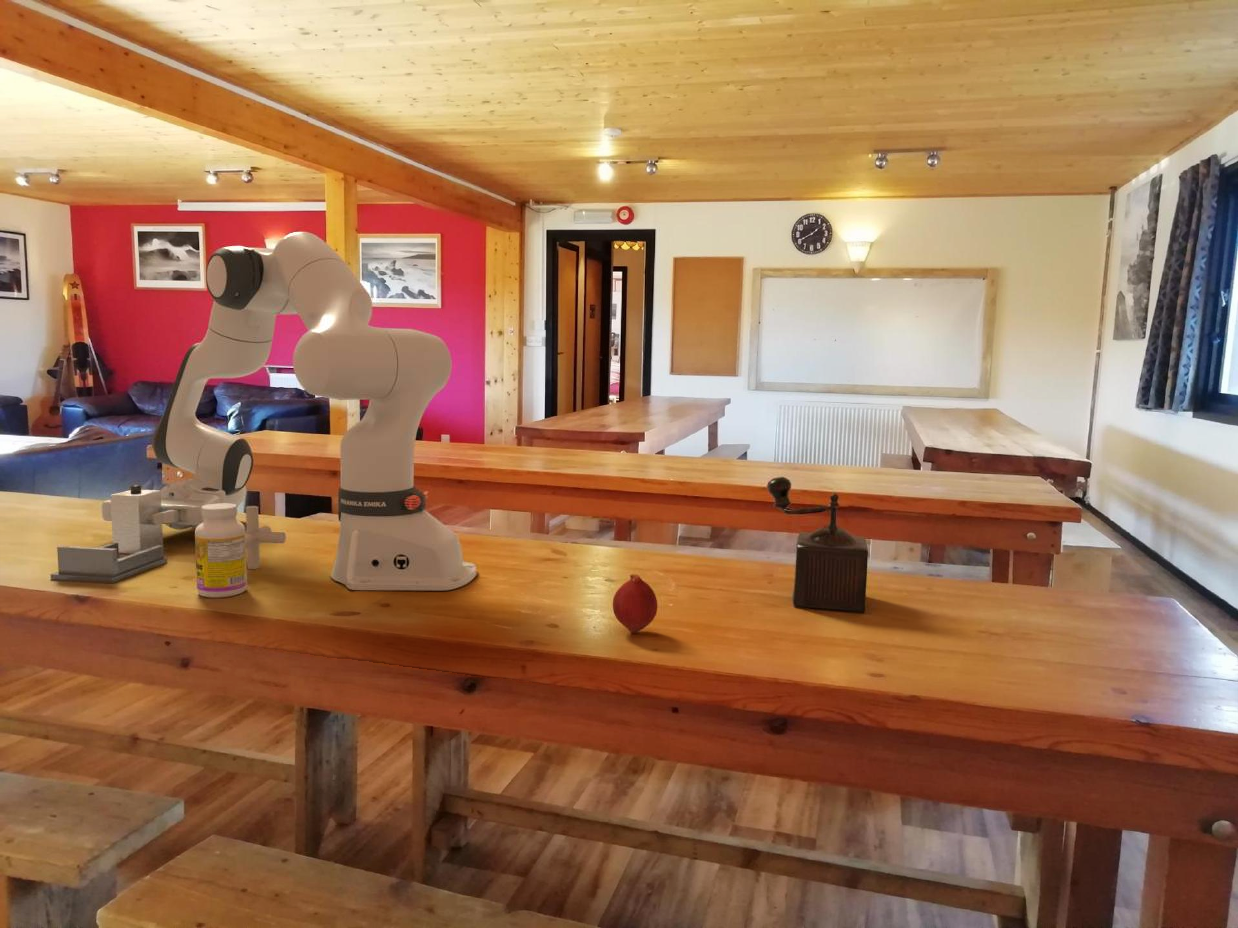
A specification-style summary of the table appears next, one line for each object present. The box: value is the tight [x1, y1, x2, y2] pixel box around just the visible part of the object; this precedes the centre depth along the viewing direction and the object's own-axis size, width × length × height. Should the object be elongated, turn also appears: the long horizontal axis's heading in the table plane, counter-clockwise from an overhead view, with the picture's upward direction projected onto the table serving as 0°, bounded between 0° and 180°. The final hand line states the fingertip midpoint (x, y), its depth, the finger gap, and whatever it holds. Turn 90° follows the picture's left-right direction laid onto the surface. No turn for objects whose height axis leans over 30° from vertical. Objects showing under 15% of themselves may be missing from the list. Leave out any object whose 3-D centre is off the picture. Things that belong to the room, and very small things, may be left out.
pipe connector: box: [245, 505, 287, 570], centre depth 140 cm, size 10×10×10 cm
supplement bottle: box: [194, 503, 248, 599], centre depth 125 cm, size 7×7×13 cm
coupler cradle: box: [50, 542, 168, 584], centre depth 136 cm, size 10×13×5 cm
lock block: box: [110, 484, 164, 555], centre depth 149 cm, size 5×6×11 cm
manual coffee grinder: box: [766, 476, 869, 614], centre depth 130 cm, size 16×11×18 cm
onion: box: [612, 573, 659, 634], centre depth 113 cm, size 6×6×8 cm
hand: (133, 519), depth 148 cm, fingers closed on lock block, 5 cm apart
